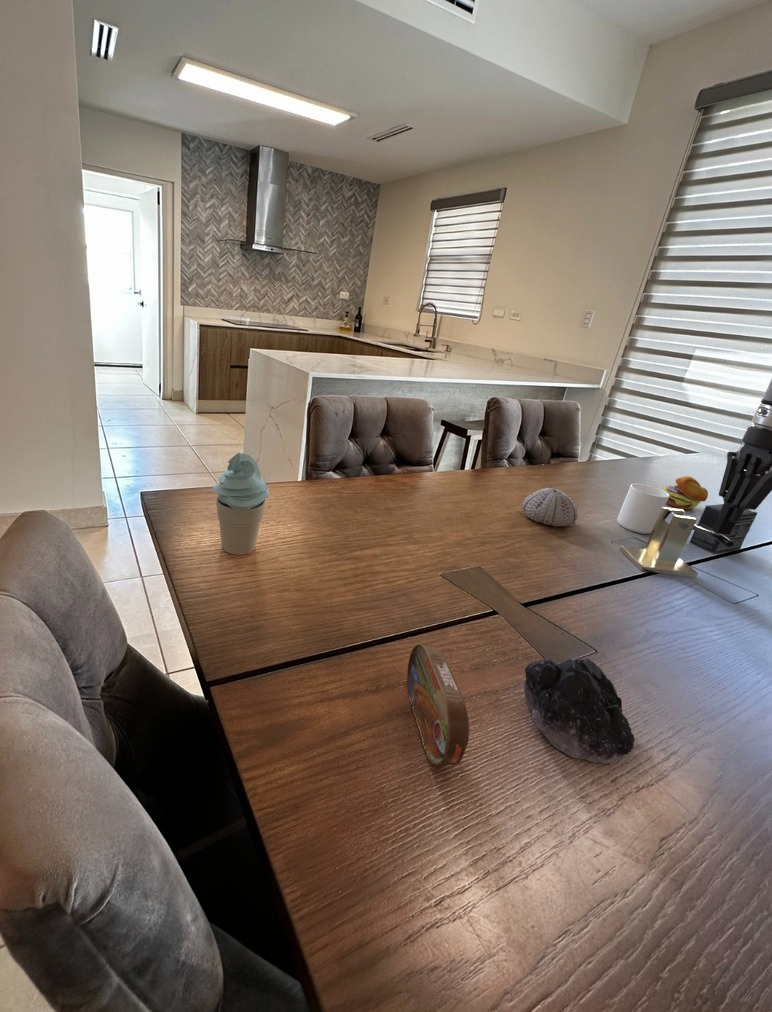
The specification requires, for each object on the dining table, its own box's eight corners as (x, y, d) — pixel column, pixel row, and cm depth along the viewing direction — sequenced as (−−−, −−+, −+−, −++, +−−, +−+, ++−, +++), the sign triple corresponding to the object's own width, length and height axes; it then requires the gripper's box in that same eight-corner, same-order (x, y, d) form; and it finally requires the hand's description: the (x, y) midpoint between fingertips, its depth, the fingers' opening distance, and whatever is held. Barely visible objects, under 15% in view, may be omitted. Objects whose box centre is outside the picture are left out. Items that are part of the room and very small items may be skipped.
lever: (709, 536, 106) (716, 528, 105) (729, 550, 101) (736, 540, 100) (658, 516, 105) (665, 507, 104) (675, 529, 100) (682, 519, 99)
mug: (660, 526, 127) (676, 490, 123) (648, 538, 119) (665, 499, 115) (625, 514, 132) (639, 478, 128) (611, 524, 124) (626, 487, 120)
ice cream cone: (274, 542, 96) (281, 449, 88) (243, 567, 86) (248, 465, 79) (232, 528, 99) (236, 437, 92) (198, 550, 90) (200, 451, 82)
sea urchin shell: (581, 534, 116) (592, 505, 113) (525, 525, 118) (534, 496, 115) (564, 512, 128) (574, 485, 125) (513, 504, 130) (522, 477, 127)
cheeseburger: (661, 493, 152) (682, 468, 147) (695, 514, 146) (718, 488, 140) (650, 499, 145) (672, 472, 140) (686, 520, 139) (710, 493, 134)
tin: (402, 678, 65) (413, 630, 62) (424, 679, 66) (436, 631, 63) (433, 783, 52) (449, 728, 48) (460, 783, 52) (478, 728, 49)
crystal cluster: (637, 729, 63) (661, 666, 60) (619, 792, 53) (646, 720, 50) (535, 678, 71) (551, 620, 68) (502, 724, 61) (519, 659, 58)
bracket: (670, 556, 110) (693, 507, 106) (696, 578, 102) (722, 526, 97) (619, 550, 111) (639, 500, 106) (640, 570, 102) (664, 518, 97)
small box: (713, 537, 124) (730, 501, 120) (740, 550, 118) (760, 513, 114) (687, 541, 120) (704, 504, 116) (714, 554, 114) (733, 515, 110)
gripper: (730, 417, 99) (684, 517, 109) (782, 435, 87) (724, 544, 97) (766, 422, 99) (716, 521, 109) (822, 440, 87) (761, 549, 97)
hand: (720, 532), depth 103 cm, fingers closed
